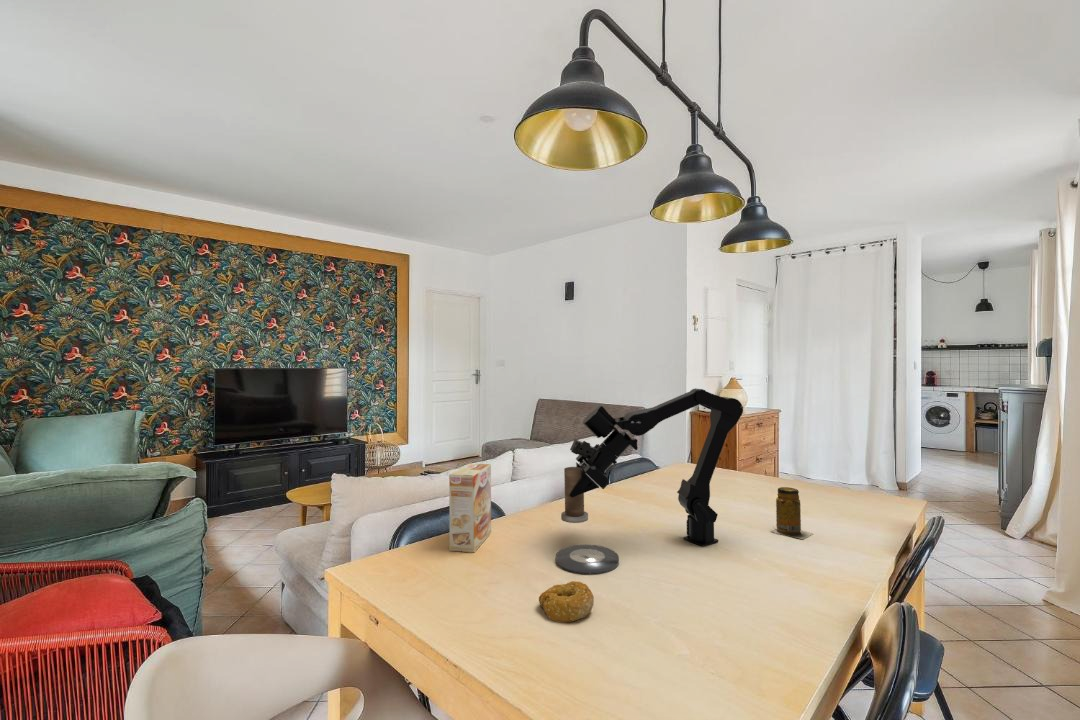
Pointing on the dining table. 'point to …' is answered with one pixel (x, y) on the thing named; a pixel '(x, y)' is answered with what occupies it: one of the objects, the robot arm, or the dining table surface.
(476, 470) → the coffeecake box
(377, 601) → the dining table surface
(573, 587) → the bagel
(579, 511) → the wooden peg on stand
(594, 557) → the base plate
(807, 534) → the condiment
